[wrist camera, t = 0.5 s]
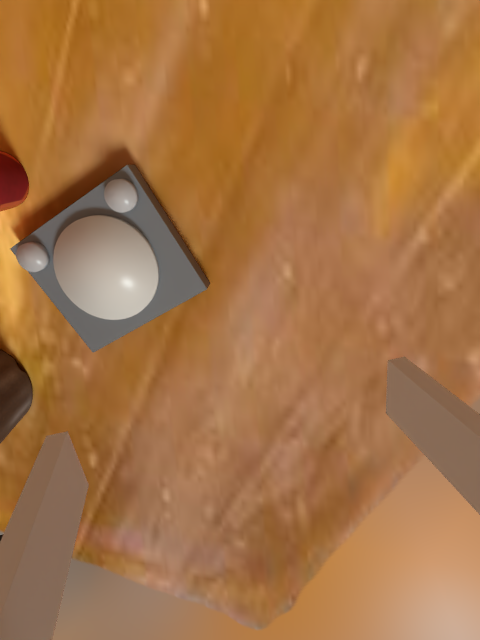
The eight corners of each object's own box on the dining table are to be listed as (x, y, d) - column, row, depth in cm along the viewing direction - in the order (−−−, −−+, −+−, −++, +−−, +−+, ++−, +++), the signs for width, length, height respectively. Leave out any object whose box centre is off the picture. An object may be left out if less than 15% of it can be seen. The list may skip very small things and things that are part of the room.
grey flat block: (134, 164, 36) (123, 164, 34) (210, 283, 41) (205, 292, 38) (22, 244, 41) (3, 250, 38) (100, 344, 45) (89, 356, 42)
